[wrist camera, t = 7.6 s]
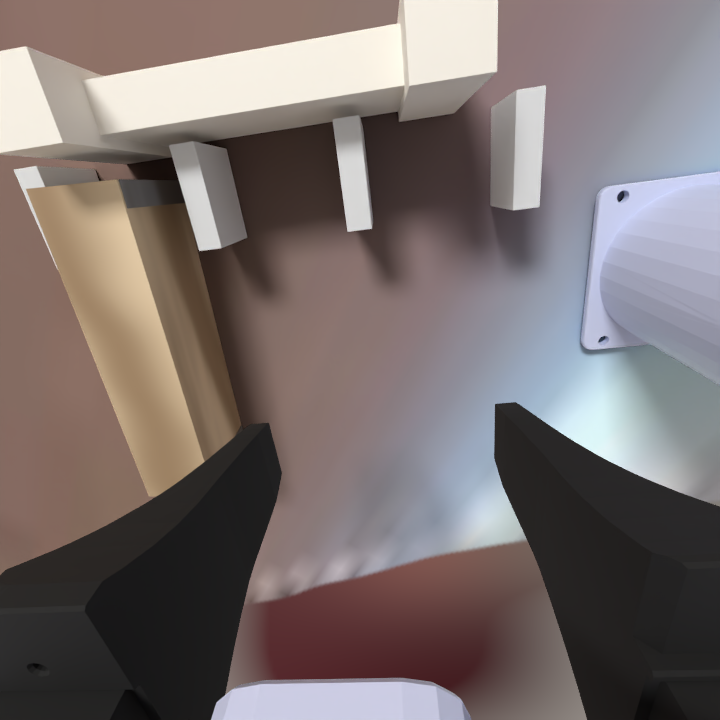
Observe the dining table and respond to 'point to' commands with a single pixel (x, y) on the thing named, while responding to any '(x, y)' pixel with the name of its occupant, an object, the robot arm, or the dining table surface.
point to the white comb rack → (271, 109)
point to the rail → (144, 318)
